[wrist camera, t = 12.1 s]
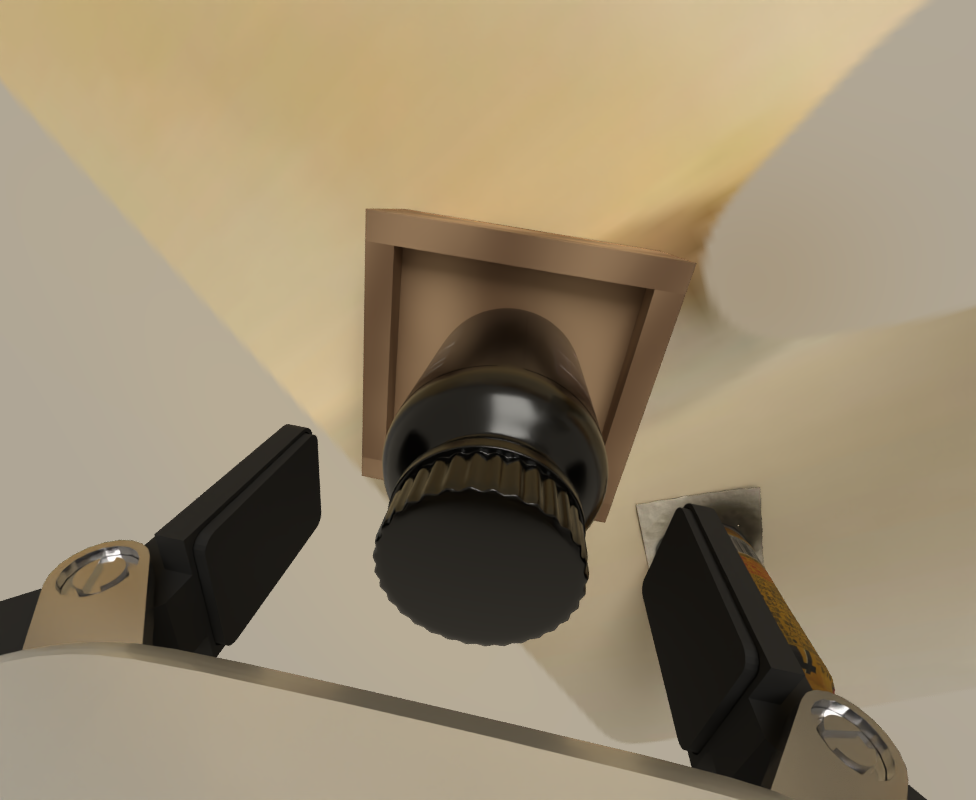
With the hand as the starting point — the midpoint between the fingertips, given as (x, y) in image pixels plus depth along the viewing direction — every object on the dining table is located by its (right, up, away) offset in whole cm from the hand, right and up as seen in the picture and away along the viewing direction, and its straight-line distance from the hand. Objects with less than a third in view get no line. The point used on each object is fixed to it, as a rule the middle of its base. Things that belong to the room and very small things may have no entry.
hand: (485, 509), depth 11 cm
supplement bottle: (+1, +4, +9) cm, 10 cm away
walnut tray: (+1, +6, +13) cm, 14 cm away
